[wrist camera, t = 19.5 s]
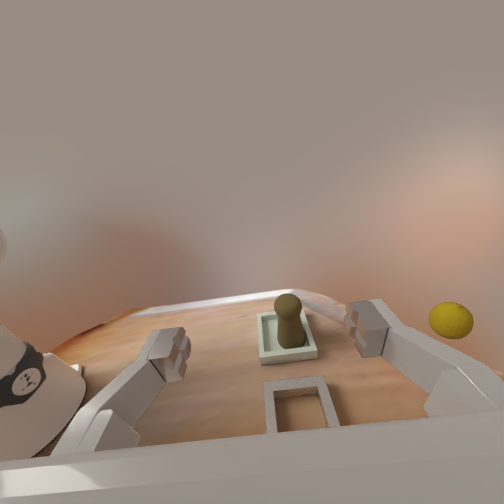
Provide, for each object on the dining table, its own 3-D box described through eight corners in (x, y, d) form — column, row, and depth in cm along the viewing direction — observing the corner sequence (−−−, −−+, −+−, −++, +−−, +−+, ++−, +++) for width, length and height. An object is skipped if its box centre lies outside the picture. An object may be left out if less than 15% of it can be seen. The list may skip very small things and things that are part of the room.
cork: (289, 321, 45) (285, 284, 40) (311, 336, 40) (310, 298, 35) (271, 338, 42) (264, 301, 36) (293, 357, 37) (289, 318, 32)
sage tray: (261, 365, 38) (259, 357, 37) (258, 320, 48) (256, 313, 46) (317, 358, 37) (317, 350, 36) (302, 314, 47) (302, 307, 46)
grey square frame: (271, 476, 25) (269, 470, 24) (265, 389, 34) (263, 382, 33) (350, 469, 25) (352, 462, 23) (323, 383, 33) (323, 375, 32)
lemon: (461, 330, 37) (477, 299, 33) (465, 353, 34) (484, 322, 30) (423, 319, 41) (434, 290, 37) (424, 339, 37) (436, 310, 33)
